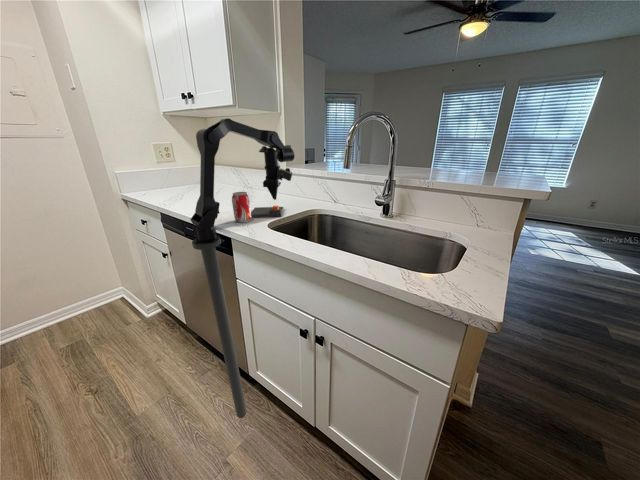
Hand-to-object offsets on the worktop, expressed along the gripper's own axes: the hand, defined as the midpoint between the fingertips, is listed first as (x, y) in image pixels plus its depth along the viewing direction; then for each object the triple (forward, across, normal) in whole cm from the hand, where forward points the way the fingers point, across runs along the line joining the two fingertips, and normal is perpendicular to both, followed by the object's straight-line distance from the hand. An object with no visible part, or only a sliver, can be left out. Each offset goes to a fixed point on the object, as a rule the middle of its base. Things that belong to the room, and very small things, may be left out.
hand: (275, 199), depth 116 cm
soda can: (+8, -6, +13) cm, 17 cm away
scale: (+7, +4, +4) cm, 9 cm away
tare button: (+5, 0, 0) cm, 5 cm away
